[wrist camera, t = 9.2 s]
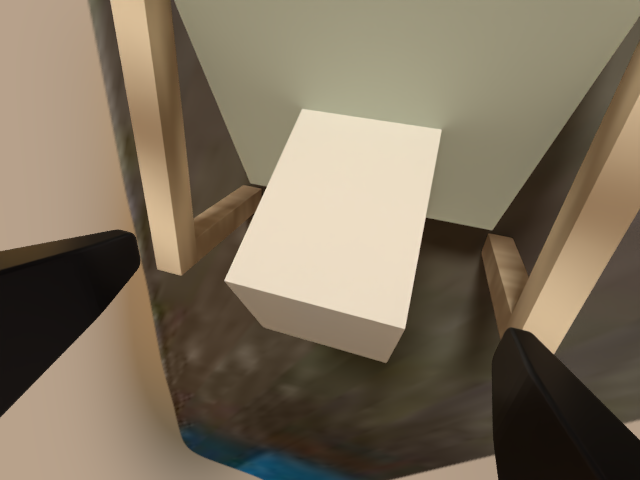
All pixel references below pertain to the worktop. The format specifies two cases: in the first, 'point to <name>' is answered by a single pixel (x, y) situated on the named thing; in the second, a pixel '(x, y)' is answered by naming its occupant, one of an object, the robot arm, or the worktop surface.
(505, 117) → the trapdoor
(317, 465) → the worktop surface
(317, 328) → the stone block
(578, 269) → the frame
